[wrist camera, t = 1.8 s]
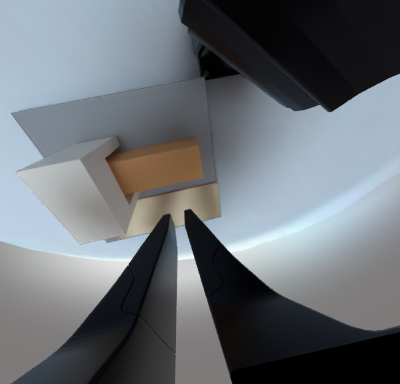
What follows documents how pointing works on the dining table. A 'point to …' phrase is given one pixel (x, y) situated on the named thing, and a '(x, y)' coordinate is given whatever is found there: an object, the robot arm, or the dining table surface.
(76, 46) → the dining table surface
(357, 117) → the dining table surface
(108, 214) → the block
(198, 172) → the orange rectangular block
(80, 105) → the board
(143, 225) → the pad
